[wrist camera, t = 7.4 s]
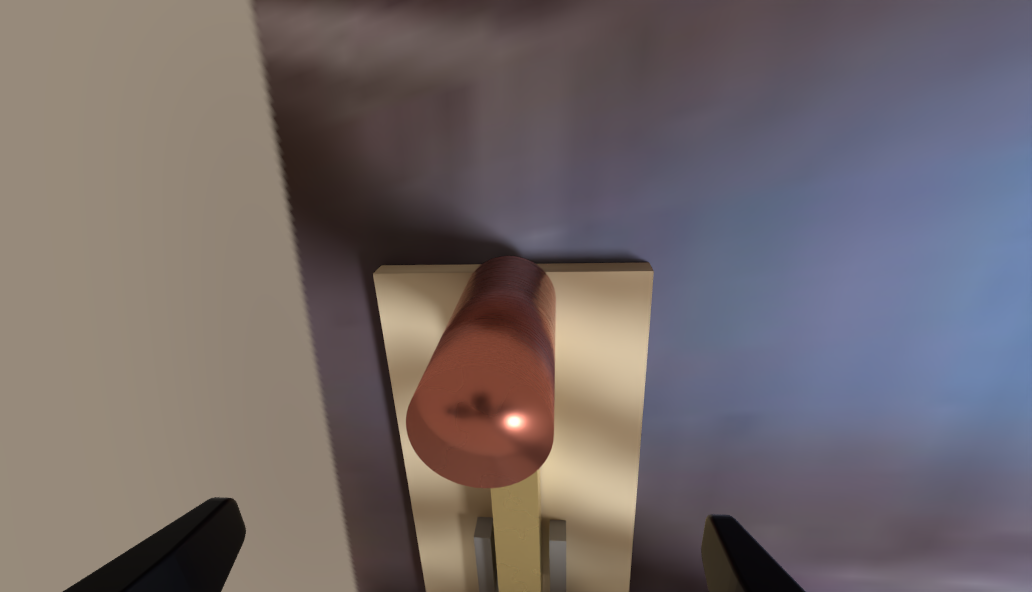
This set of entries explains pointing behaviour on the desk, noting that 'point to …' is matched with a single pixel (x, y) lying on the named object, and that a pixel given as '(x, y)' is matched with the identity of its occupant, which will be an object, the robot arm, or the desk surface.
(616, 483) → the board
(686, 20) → the desk surface
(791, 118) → the desk surface
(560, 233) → the desk surface
